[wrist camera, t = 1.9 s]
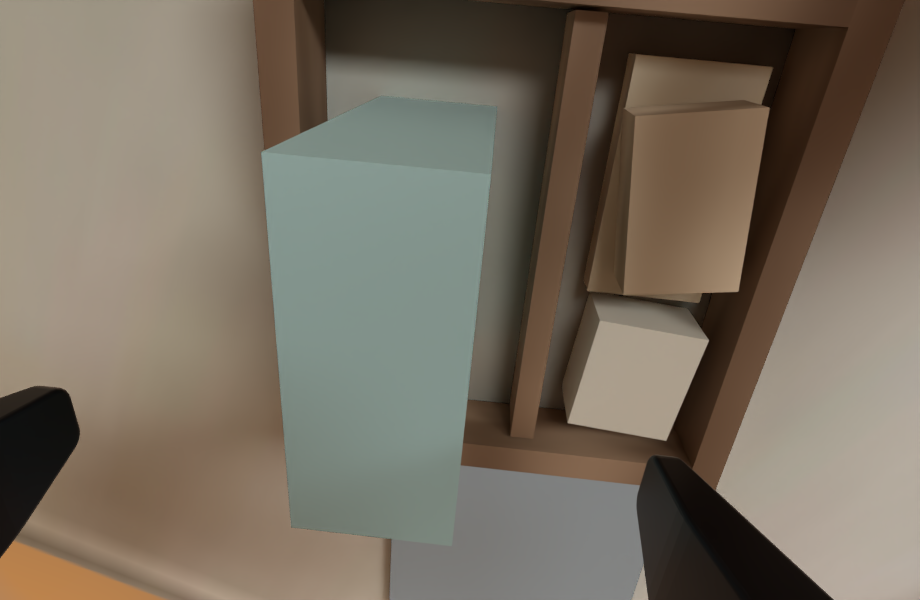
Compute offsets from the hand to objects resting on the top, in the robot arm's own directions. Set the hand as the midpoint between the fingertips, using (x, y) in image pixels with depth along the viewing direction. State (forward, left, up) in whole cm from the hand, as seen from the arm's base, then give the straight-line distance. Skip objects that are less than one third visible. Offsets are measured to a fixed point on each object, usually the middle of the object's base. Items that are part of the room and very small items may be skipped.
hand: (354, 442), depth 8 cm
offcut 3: (-7, +4, -11) cm, 14 cm away
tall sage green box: (0, 0, -11) cm, 11 cm away
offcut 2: (-7, -2, -10) cm, 12 cm away
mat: (-4, +14, -11) cm, 18 cm away
